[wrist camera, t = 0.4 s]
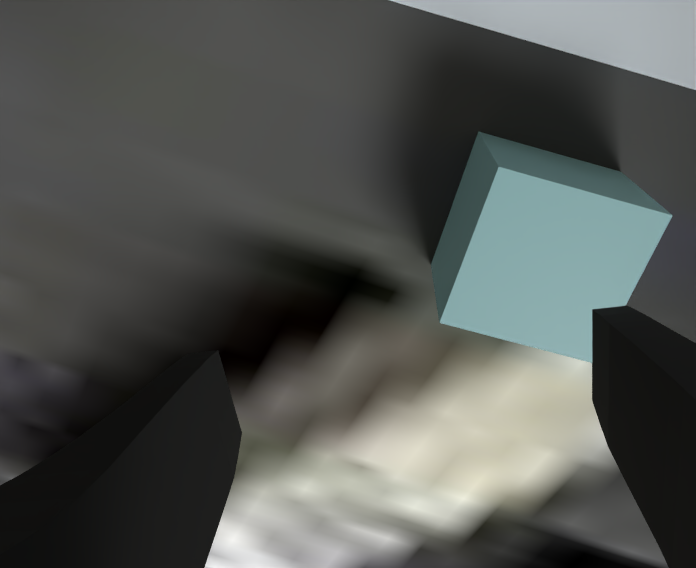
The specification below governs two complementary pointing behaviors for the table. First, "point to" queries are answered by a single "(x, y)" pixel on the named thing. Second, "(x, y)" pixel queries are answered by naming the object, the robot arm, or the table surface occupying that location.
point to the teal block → (541, 246)
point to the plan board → (593, 30)
